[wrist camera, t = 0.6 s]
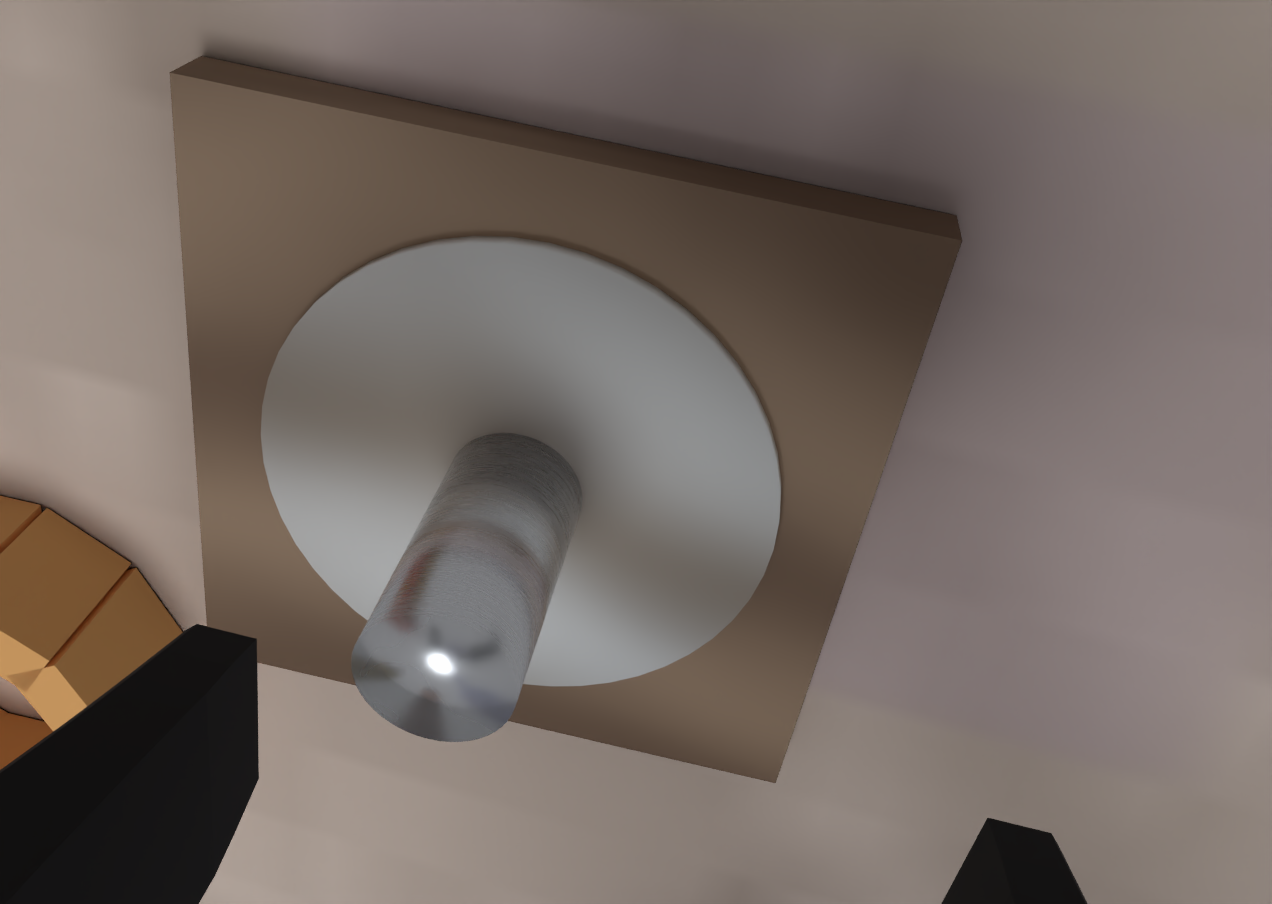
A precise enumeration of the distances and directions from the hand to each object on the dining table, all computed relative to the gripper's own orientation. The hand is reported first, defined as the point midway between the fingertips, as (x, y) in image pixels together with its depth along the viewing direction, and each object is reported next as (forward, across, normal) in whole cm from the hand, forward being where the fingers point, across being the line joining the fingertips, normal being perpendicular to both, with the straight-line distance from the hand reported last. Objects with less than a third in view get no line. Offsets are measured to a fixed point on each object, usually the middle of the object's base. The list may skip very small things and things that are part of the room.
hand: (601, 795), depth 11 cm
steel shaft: (+10, +3, +3) cm, 10 cm away
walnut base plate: (+10, +3, +3) cm, 10 cm away
